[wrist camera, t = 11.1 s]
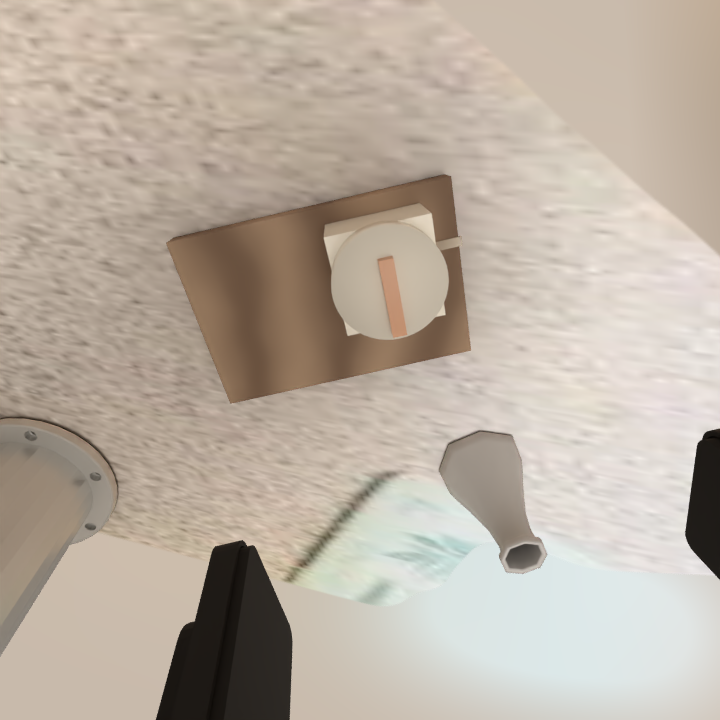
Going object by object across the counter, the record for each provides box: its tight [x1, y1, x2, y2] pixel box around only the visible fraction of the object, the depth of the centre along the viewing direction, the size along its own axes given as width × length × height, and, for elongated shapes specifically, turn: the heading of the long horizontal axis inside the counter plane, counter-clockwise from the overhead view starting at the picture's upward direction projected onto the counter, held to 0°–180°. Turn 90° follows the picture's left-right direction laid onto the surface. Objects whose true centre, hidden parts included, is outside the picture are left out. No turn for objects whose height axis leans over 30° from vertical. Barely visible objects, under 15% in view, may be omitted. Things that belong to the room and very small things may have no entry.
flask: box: [439, 431, 547, 574], centre depth 36 cm, size 7×7×10 cm
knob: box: [324, 203, 449, 340], centre depth 27 cm, size 6×6×6 cm
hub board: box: [166, 175, 471, 404], centre depth 30 cm, size 18×12×5 cm, turn 102°
